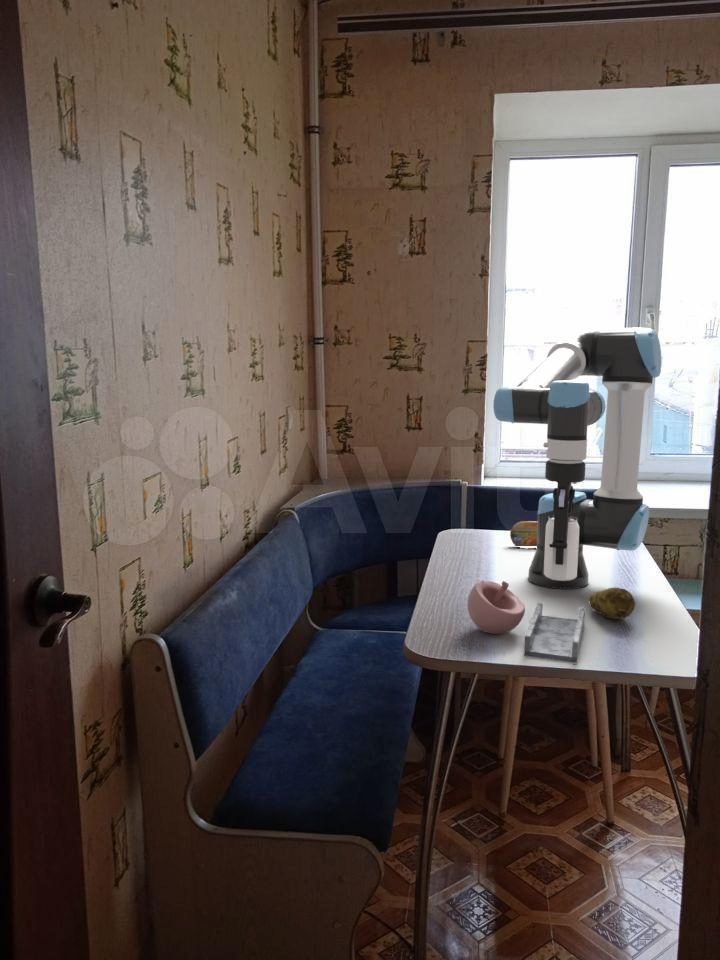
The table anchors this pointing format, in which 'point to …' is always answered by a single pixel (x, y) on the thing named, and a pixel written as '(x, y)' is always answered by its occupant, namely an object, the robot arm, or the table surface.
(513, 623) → the mortar and pestle
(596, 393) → the robot arm
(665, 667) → the table surface
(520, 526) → the tin
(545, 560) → the can
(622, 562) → the table surface
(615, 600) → the potato
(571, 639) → the track
